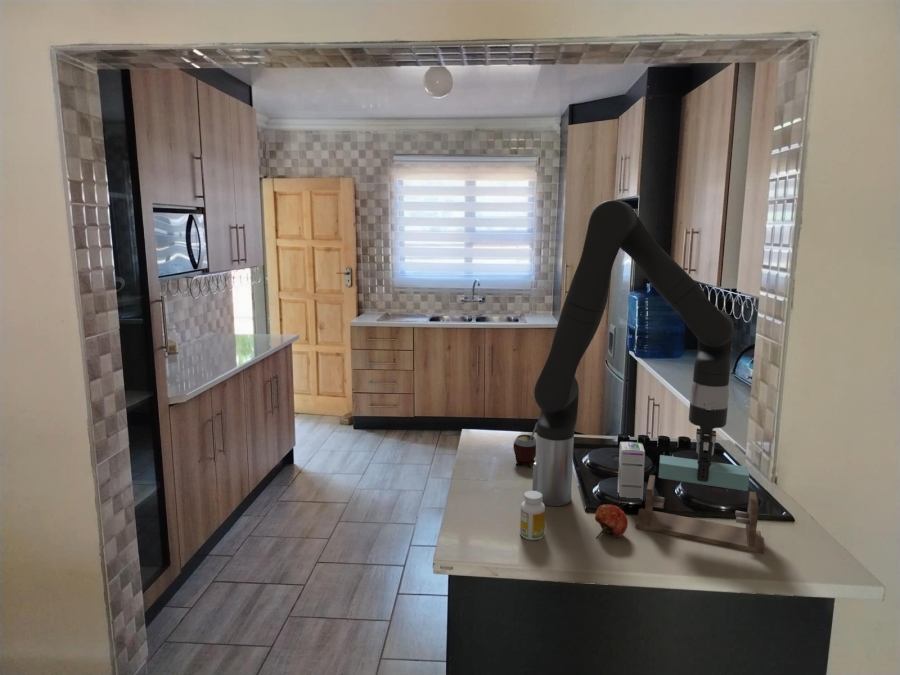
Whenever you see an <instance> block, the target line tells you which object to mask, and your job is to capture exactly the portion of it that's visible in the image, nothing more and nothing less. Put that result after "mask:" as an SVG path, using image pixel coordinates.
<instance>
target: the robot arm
mask: <svg viewBox="0 0 900 675" xmlns="http://www.w3.org/2000/svg"><path fill="white" fill-rule="evenodd" d="M620 250H622V251H624V252H625V254H627V255H628V256H629V257H630V259H632V260H633V261H634V262H635V263H636V264H637V266H638V267H639V269H640V270H641V271H642V273H643V274H644V276H645V277H646V279H647V281H648V282H649V283H650V284H651V286H652V287H653V288H654V289H655V291H656V292H657V293H658V294H659V295H660V297H662V299H663V300H664V301H665V302H666V303H667V304H668V305H669V307H671V308H672V309H673V310H674V311H675V312H676V313H677V314H678V315H679V316H680V317H681V319H682V320H683V322H684V323H685V324H686V326H687V328H688V329H689V330H690V331H691V332H692V334H693V335H694V336H695V337H696V338H697V340H698V341H697V353H696V357H695V360H694V364H693V365H694V366H693V367H694V368H693V376H692V377H693V378H692V384H691V385H692V386H691V389H690V398H689V399H690V400H689V408H688V409H689V410H688V411H689V413H688V421H689V423H691V424H692V425H694V426H698V428H696V433H695V439H696V453H697V455H698V458H697V459H696V460H697V463H698V474H697V480H698V481H703V482H707V481H708V477H709V467H710V465H711V462H712V457H713V455H714V453H715V452H714V451H715V443H716V442H717V430H715V429H722V428H724V427H725V426H726V425H727V421H728V420H727V418H728V407H729V399H730V398H729V396H730V391H729V388H730V387H729V382H730V373H731V372H730V371H731V364H730V362H731V361H730V359H731V353H732V347H733V346H732V345H733V338H734V337H733V336H734V332H735V323H734V320H733V318H732V316H731V315H730V314H729V313H728V312H726V311H724V310H720V309H718V308H717V307H716V306H715V305H714V304H713V302H712V301H710V300H709V298H707V296H706V293H705V292H704V290H703V289H702V287H701V286H700V285H699V284H698V283H697V282H696V281H695V280H694V279H693V278H692V277H691V276H690V275H689V274H688V273H687V272H686V271H685V270H684V269H683V268H682V266H680V264H678V263H677V262H676V261H675V260H674V259H673V257H671V255H669V254H668V253H667V252H666V251H665V250H664V248H662V246H660V245H659V243H658V242H657V241H656V240H655V239H654V237H653V236H652V234H650V232H649V231H648V229H647V228H646V227H645V225H644V223H643V221H641V219H640V218H639V216H638V214H637V213H636V211H635V209H634V207H632V206H631V205H630V203H627V202H626V201H621V200H617V199H608V200H604V201H602V202H601V203H599V204H598V205H597V206H596V207H595V208H594V209H593V210H592V211H591V214H590V216H589V220H588V226H587V229H586V234H585V239H584V243H583V248H582V252H581V255H580V258H579V262H578V265H577V267H576V270H575V272H574V274H573V277H572V280H571V283H570V285H569V288H568V291H567V293H566V296H565V299H564V302H563V306H562V308H561V312H560V314H559V318H558V321H557V324H556V329H555V330H554V331H555V332H554V335H553V339H552V344H551V346H550V350H549V351H550V352H549V354H548V357H547V359H546V361H545V363H544V365H543V368H542V370H541V373H540V374H539V377H538V378H537V380H536V383H535V385H534V390H533V395H534V401H535V403H536V404H537V406H538V408H540V409H541V410H540V415H539V417H538V420H537V422H536V423H537V428H536V435H535V436H536V437H535V439H536V456H535V462H534V463H532V464H533V465H532V486H531V489H532V490H531V491H537V492H540V493H541V494H542V503H543V504H544V505H546V506H550V507H551V506H552V507H561V506H565V505H567V504H569V503H570V502H571V499H572V484H573V466H574V465H573V463H574V461H573V460H574V441H575V440H574V439H575V438H574V437H575V429H576V428H575V427H576V424H577V421H578V411H579V410H578V409H579V394H580V388H579V382H578V380H577V378H576V373H577V370H578V367H579V365H580V362H581V360H582V358H583V356H584V355H585V353H586V352H587V350H588V348H589V346H590V345H591V342H592V341H593V339H594V336H595V335H596V334H597V333H596V332H597V331H598V329H599V326H600V323H601V321H602V318H603V316H604V313H605V311H606V307H607V303H608V299H609V298H608V297H609V291H610V284H611V282H610V281H611V273H612V270H613V266H614V264H615V260H616V258H617V256H618V253H619V251H620Z"/></svg>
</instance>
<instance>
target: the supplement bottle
mask: <svg viewBox="0 0 900 675" xmlns="http://www.w3.org/2000/svg"><path fill="white" fill-rule="evenodd" d="M545 523H546V506H545V504H543V503H542V494H541V493H540V492H537V491H532V490H528V491H525V492H524V496H523V501H522V502H521V504H520V521H519V524H520V526H519V528H520V529H519V533H520V535H521V537H523V538H524V539H526V540H528V541H537V540H541V539H543V537H544V536H545Z"/></svg>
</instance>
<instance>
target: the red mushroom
mask: <svg viewBox="0 0 900 675" xmlns="http://www.w3.org/2000/svg"><path fill="white" fill-rule="evenodd" d="M624 506H625V504H621V505H620V506H617V505H613V504H610V503H609V504H601V505H600V506H598V508H597V509H596V511H595V515H594V520H595V521H596V522H597V523H598V524H599V526H600V527H601V530H600V533H598V534H597V536H596V537H595V539H598V538H599V537H600V536H601V535H602V534H603V533H604V531H605V532H607V533H608V534H611V535H612V536H613V537H616V538H619V537H622V536H623V535H624V534H625V533H626V531H627V529H628V525H629V524H628V523H629V522H628V516H627V515H626V514H625V512H624V510H623V508H624Z"/></svg>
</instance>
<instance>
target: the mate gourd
mask: <svg viewBox="0 0 900 675" xmlns="http://www.w3.org/2000/svg"><path fill="white" fill-rule="evenodd" d="M535 432H537V422H536V423H535V426H534V428H533V430H532V434H519V435H517V436H516V437H515V439H514V441H513V445H512V446H513V452H514V455H515V460H516V461H515V462H516V463H515V465H516V466H523V465H525V466H526V467H528V468H531V469H532V468H533V465H532V464H534V462H535V461H536V437H535V436H534V435H535Z"/></svg>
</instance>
